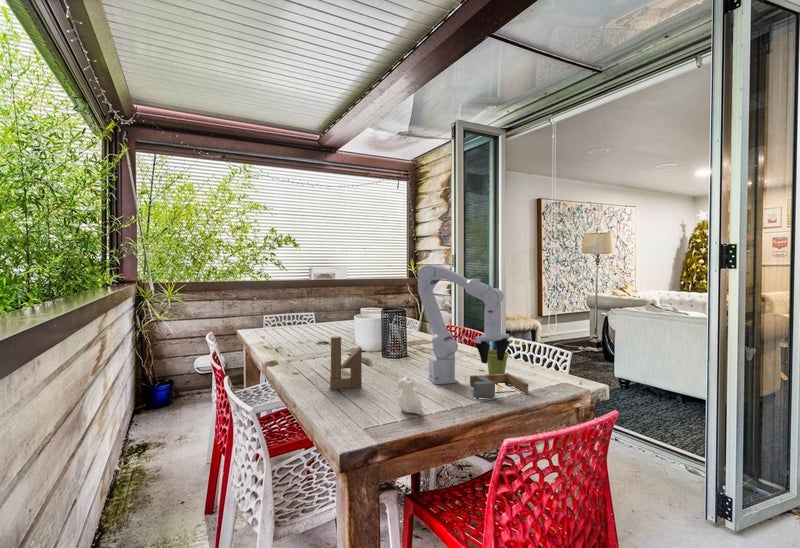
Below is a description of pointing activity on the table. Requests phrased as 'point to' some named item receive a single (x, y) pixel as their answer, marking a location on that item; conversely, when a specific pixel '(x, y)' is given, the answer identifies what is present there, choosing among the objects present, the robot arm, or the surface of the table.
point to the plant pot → (496, 363)
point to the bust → (408, 397)
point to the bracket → (484, 388)
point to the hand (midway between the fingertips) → (492, 361)
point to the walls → (503, 380)
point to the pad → (499, 388)
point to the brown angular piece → (352, 362)
